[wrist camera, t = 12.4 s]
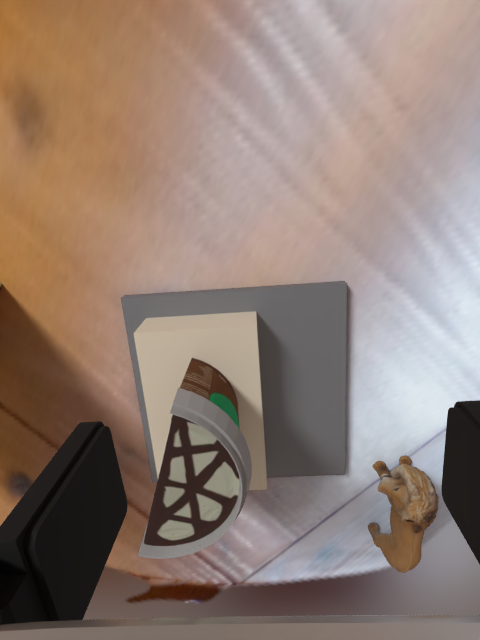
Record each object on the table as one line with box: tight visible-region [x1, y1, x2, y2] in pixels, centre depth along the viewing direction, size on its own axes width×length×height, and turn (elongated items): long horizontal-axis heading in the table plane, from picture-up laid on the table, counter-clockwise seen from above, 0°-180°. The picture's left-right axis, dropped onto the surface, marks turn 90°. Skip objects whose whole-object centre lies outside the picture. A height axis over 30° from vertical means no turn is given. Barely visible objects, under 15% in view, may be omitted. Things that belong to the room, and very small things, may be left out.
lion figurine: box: [368, 456, 438, 572], centre depth 38 cm, size 15×5×9 cm, turn 10°
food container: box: [138, 358, 252, 559], centre depth 29 cm, size 12×6×10 cm, turn 166°
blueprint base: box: [121, 281, 347, 490], centre depth 36 cm, size 20×20×5 cm
